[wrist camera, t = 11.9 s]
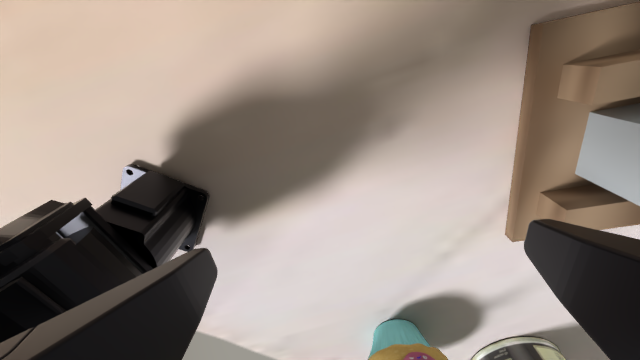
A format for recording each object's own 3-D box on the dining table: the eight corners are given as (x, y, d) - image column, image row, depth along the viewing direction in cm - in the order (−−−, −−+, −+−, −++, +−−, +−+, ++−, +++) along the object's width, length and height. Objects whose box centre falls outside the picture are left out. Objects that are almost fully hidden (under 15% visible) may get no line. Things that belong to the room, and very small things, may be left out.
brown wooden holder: (505, 234, 23) (533, 263, 20) (531, 25, 16) (581, 19, 13) (659, 212, 22) (715, 240, 19) (758, -25, 15) (874, -44, 12)
